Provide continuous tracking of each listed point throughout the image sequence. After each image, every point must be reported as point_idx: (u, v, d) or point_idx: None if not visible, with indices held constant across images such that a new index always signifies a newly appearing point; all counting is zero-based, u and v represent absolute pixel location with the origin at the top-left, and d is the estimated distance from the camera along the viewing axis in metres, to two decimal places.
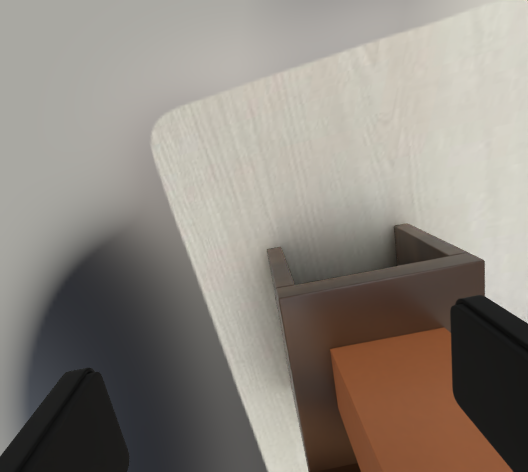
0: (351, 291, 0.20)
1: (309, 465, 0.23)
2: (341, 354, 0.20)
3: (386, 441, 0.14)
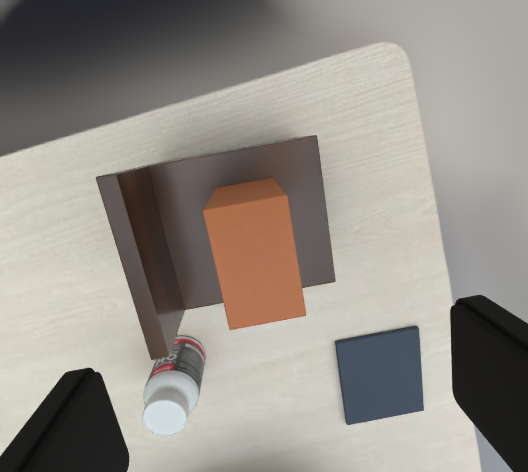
0: (319, 191, 0.27)
1: (155, 166, 0.25)
2: None
3: None
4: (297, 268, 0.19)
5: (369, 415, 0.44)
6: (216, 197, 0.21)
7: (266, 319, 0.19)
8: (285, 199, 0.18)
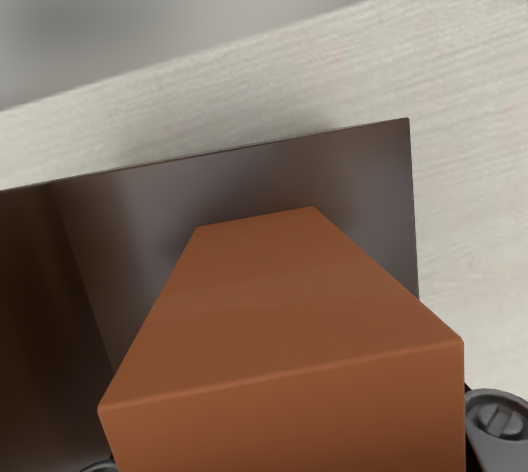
0: (406, 232, 0.13)
1: (66, 181, 0.12)
2: None
3: None
4: None
5: None
6: (184, 278, 0.08)
7: None
8: (456, 358, 0.04)
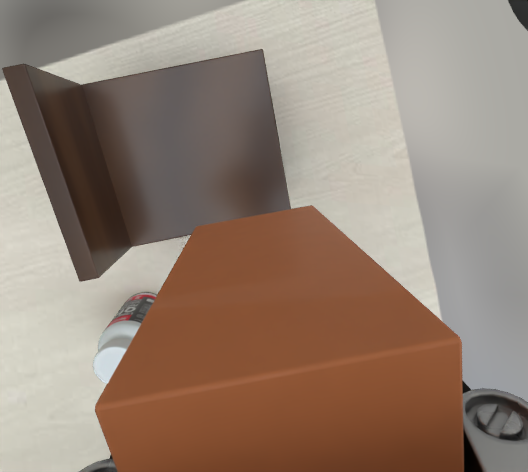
0: (268, 112, 0.25)
1: (90, 84, 0.24)
2: None
3: None
4: None
5: None
6: (183, 278, 0.08)
7: None
8: (455, 357, 0.04)
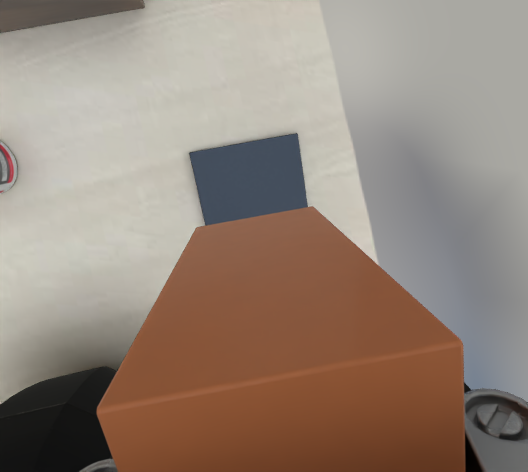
0: None
1: None
2: None
3: None
4: None
5: None
6: (184, 279, 0.08)
7: None
8: (456, 360, 0.04)
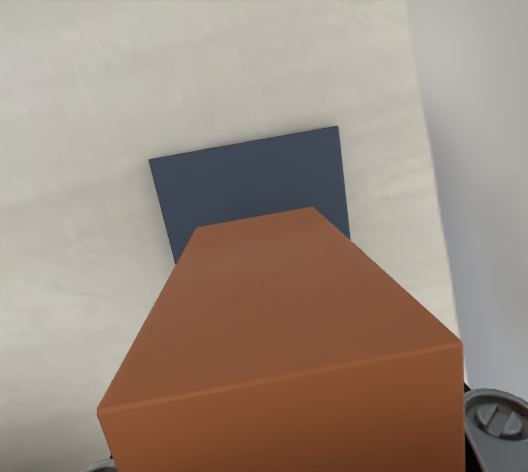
0: None
1: None
2: None
3: None
4: None
5: None
6: (184, 279, 0.08)
7: None
8: (455, 361, 0.04)
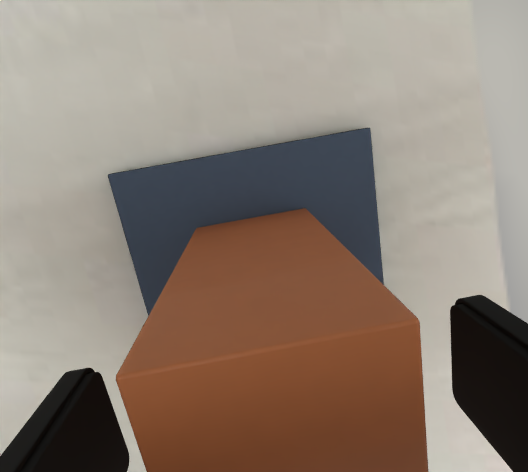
0: None
1: None
2: None
3: None
4: None
5: None
6: (186, 274, 0.08)
7: None
8: (414, 335, 0.05)
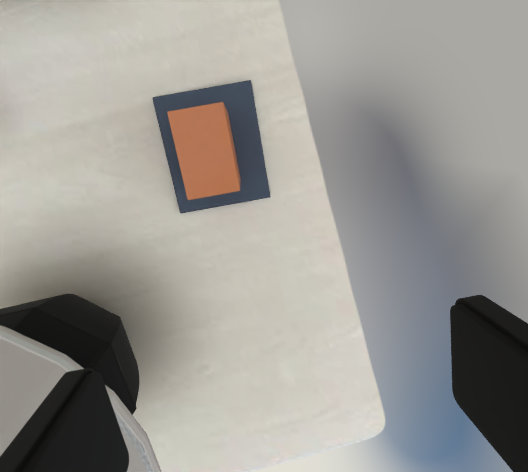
0: None
1: None
2: (228, 116, 0.35)
3: None
4: (232, 155, 0.28)
5: (205, 200, 0.37)
6: None
7: (212, 192, 0.28)
8: (222, 105, 0.27)
